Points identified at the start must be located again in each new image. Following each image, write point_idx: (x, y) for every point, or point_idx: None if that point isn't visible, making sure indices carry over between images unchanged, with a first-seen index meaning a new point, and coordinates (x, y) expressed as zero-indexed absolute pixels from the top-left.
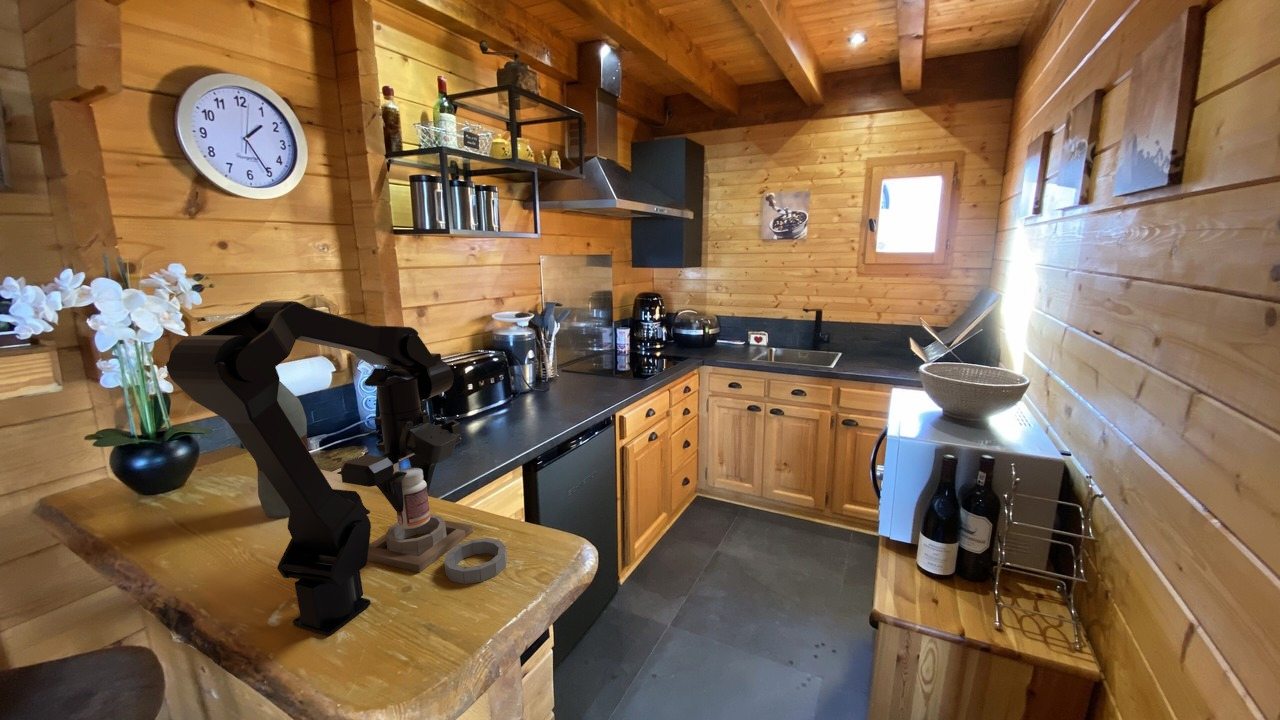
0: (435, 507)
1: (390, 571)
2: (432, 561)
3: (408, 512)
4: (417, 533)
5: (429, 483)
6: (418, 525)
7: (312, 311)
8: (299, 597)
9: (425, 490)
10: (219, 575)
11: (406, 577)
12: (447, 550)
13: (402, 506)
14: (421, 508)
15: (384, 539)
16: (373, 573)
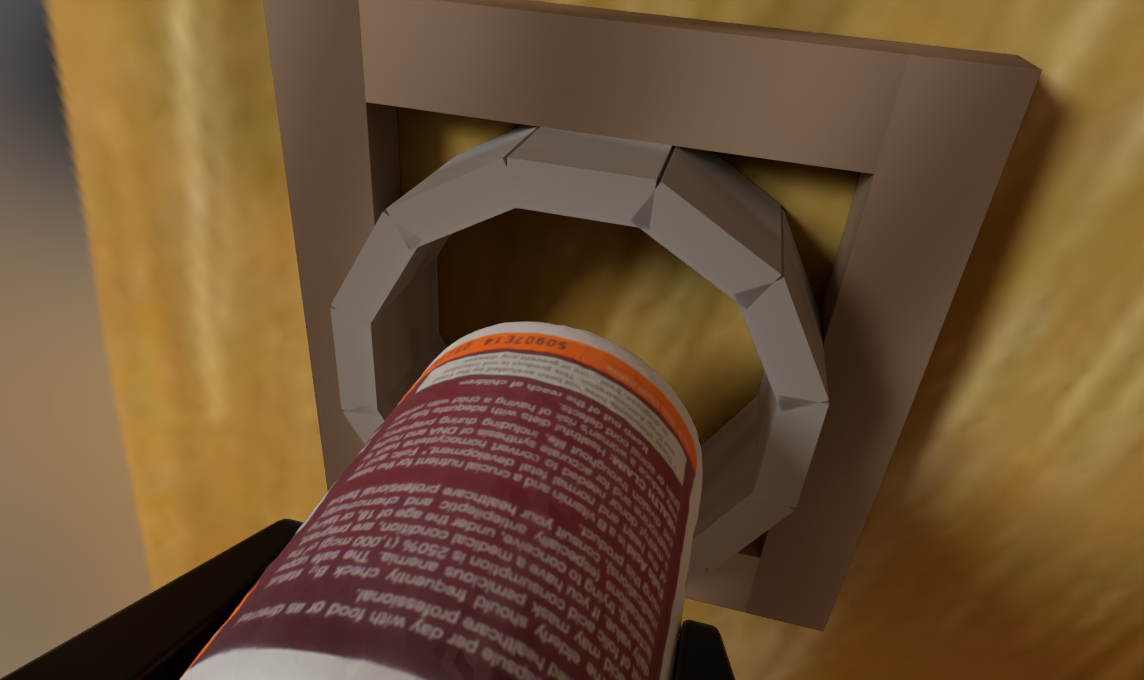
0: (181, 452)
1: (985, 323)
2: (842, 37)
3: (666, 550)
4: None
5: (126, 629)
6: (641, 366)
7: None
8: None
9: (323, 599)
10: None
11: (1094, 137)
12: (636, 13)
13: (700, 677)
14: (542, 452)
15: None
16: (1011, 425)
